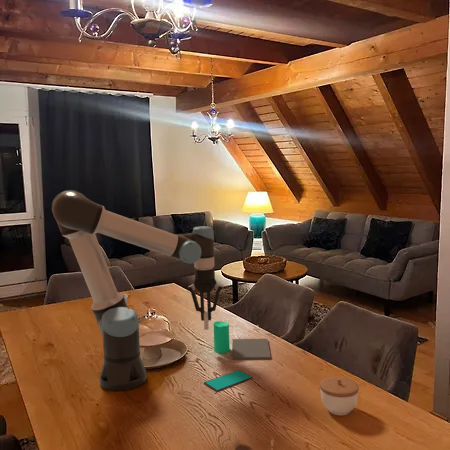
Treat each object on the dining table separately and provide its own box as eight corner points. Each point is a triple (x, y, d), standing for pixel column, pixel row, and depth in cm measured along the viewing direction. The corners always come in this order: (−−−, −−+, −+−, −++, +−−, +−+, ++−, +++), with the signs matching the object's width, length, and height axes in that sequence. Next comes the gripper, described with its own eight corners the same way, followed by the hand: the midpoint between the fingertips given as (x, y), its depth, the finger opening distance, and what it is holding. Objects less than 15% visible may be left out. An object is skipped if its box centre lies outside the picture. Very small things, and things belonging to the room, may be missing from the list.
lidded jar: (334, 423, 131) (335, 391, 130) (312, 405, 141) (312, 375, 139) (366, 414, 135) (366, 383, 134) (342, 397, 145) (342, 368, 143)
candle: (210, 350, 183) (209, 320, 181) (221, 345, 187) (220, 316, 186) (222, 354, 179) (221, 323, 177) (232, 349, 183) (232, 319, 182)
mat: (270, 359, 174) (270, 356, 174) (232, 359, 174) (232, 357, 174) (267, 340, 192) (267, 338, 192) (232, 340, 192) (232, 339, 192)
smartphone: (203, 382, 156) (239, 369, 165) (203, 384, 156) (239, 371, 165) (216, 390, 150) (253, 377, 159) (216, 393, 150) (253, 379, 159)
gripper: (222, 265, 183) (223, 324, 186) (188, 265, 183) (190, 325, 186) (221, 269, 175) (223, 331, 178) (186, 270, 176) (188, 332, 179)
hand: (206, 328), depth 182 cm, fingers closed
